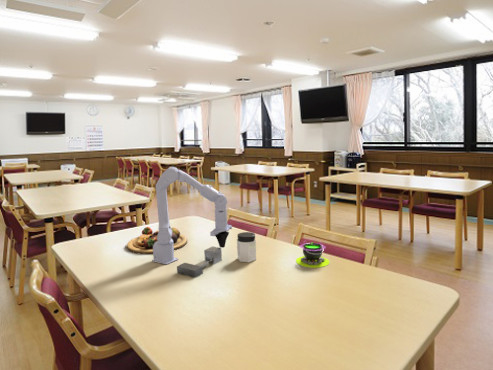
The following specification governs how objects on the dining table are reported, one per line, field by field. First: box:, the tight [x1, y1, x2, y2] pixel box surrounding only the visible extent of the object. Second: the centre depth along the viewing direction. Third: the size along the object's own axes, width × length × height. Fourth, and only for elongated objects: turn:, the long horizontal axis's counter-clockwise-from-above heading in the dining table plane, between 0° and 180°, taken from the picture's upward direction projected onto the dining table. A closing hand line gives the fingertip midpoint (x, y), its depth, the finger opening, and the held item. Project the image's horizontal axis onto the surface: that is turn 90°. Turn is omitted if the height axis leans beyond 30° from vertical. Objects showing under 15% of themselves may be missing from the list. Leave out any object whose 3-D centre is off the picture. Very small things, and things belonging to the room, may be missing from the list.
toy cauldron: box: [295, 238, 330, 269], centre depth 157 cm, size 15×15×11 cm
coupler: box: [176, 259, 209, 278], centre depth 151 cm, size 10×14×3 cm
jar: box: [236, 231, 257, 263], centre depth 162 cm, size 9×8×12 cm
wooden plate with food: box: [126, 226, 188, 255], centre depth 188 cm, size 32×32×8 cm
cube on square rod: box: [203, 246, 223, 266], centre depth 160 cm, size 5×6×6 cm
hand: (222, 247), depth 166 cm, fingers closed
